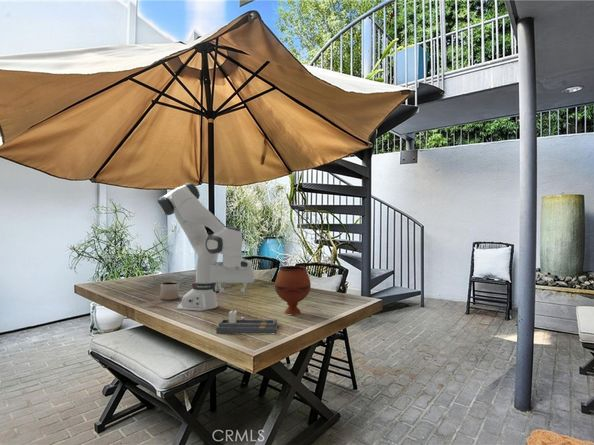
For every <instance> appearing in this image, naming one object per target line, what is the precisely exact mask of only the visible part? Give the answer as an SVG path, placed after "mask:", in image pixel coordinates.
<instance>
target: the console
mask: <svg viewBox="0 0 594 445" xmlns="http://www.w3.org/2000/svg"><path fill="white" fill-rule="evenodd" d="M277 327H278V319H276V318H273V319H266V318H265V319H262V318H261V319H258V318H257V319H253V318H252V319H251V318H249V319H247V318H246V316H241V318H237V322H236V323H229V318H223V317H222V319H220V321H219V322H218V325H217V326H216V327H215V328H216V331H215V333H216V334H225V333H276V334H277V329H278V328H277ZM276 328H277V329H276Z"/></svg>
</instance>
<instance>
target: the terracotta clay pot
mask: <svg viewBox="0 0 594 445" xmlns="http://www.w3.org/2000/svg"><path fill="white" fill-rule="evenodd" d="M274 289H275V292H276V294H277V296H278V297H279V298H280V299H281V300H282V301H284V302H286V305H287V308H286V309H285V310H284V314H285V313H286V314H292V315H291V316H295V315H294V314H299V315H301V314H302V312H301V310H300V309H299V308H298V304H299V303H300V302H301V301H303V300H304V299H306V297H307V296H308V295H309V293H310V291H311V279H310V277H309V274H308V271H307V267H306V266H305V265H304V266H303V265H282V266H279V270H278V273H277V276H276V278H275V282H274ZM300 313H301V314H300ZM286 314H285V315H286Z"/></svg>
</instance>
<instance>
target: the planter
mask: <svg viewBox="0 0 594 445" xmlns="http://www.w3.org/2000/svg"><path fill="white" fill-rule="evenodd" d="M179 289H180V283H179V282H178V281H165V282H160V299H161V300H163V301H171V300H172V301H174V300H176V299H179V297H180V290H179Z"/></svg>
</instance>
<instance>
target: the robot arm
mask: <svg viewBox="0 0 594 445" xmlns="http://www.w3.org/2000/svg"><path fill="white" fill-rule="evenodd" d="M200 196H201V195H200V190H199V188H198V187H197V186H196V185H195V184H194V183H192V182H187V183H184V184H183V185H181V186H177V187H175V188H174V189H172V190H171V191H169V192H168V193H166V194H164V195H162V196H160V197H159V198H158V200H157V206H158V209H159V211H160V212H162V213H163V214H164V215H165V216H171V215H173V214H174V216H175V218H176V220H177V222H178V224H179V225H180V227H181V229H182V231H183V232H184V234H185V236H186V237H187V239H188V241H189V243H190V245H191V246H192V248H193V250H194V252H195V254H196V255H197V260H196V261H197V262H196V267H195V281H193V283H192V284H191V287H192V288H191V289H190V290H189V291H188V292H186V293H185V294H184V295H183V296H182V297H181V303H178V305H177V306H176V309H177V310H183V311H196V312H197V311H199V312H203V311H207V310H212V309H213V310H214V309H216V308H218V307H219V303H218V299H217V298H218V297H217V289H218V288H219V293H220V294H222V293H224V292H225V287H222V284H242V285H243V288H242V287H241V288H240V294H242V293H243V294H244V293H245V290H246V286H247V285H248V284H253V283H254V282H255V281H256V280H255V279H256V278H255V277H256V276H255V269H254V267H253V261H251V260H249V259H246V258H244V257H243V253H242V249H243V233H242V231H241V229H240V228H238V227H235V226H230V225H229V226H226V225H225V224H224V223H223V222H222V221H221V220H220V219H219V218H218V217H217V216H216V215H215V214H213V212H211V211H210V210H208V209H207V208H206V206H204V205H203V204H202V202H200V200H199V199H200ZM206 227H207V228H209V229H210V230H211V231H212V232H213V233H211V234H208V232H207V229H206ZM218 255H222V261H220V262H219V261H218Z"/></svg>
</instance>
